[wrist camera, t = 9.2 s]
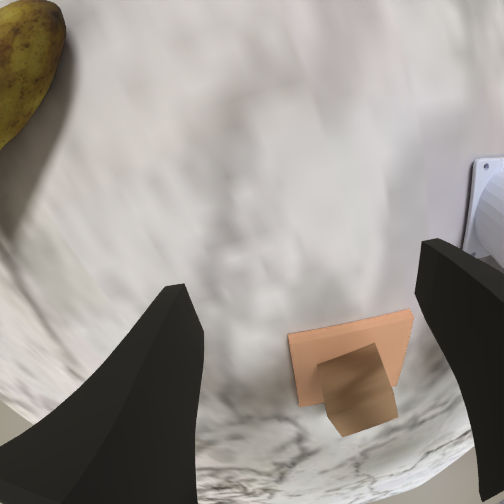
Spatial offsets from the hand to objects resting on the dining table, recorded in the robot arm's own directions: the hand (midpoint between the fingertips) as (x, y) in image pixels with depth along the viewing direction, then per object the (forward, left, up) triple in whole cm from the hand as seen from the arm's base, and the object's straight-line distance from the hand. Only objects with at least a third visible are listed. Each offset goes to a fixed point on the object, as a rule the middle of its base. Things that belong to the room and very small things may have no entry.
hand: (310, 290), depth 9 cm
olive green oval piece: (+15, -10, -10) cm, 21 cm away
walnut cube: (-4, +17, -8) cm, 19 cm away
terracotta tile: (-4, +17, -9) cm, 20 cm away
